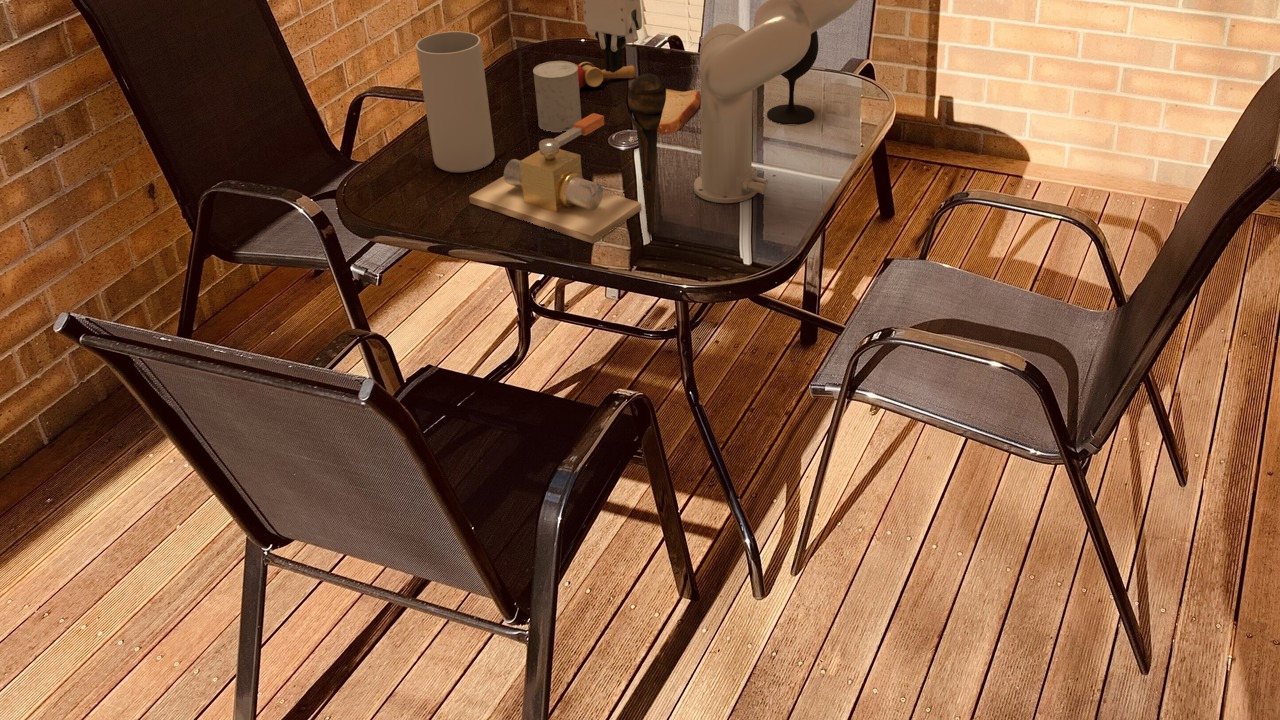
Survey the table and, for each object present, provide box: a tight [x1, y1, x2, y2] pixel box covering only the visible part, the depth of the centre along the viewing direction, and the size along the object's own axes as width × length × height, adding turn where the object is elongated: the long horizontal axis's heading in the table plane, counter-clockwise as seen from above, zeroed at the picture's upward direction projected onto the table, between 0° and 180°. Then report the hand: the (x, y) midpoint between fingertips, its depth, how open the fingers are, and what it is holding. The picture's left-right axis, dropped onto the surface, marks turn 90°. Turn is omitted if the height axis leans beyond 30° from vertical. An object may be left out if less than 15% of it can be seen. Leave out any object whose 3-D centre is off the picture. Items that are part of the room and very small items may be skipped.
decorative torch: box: [625, 72, 667, 235], centre depth 197 cm, size 7×7×30 cm
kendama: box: [575, 61, 636, 90], centre depth 265 cm, size 8×6×18 cm
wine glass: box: [766, 30, 819, 125], centre depth 241 cm, size 10×10×20 cm
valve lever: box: [538, 112, 605, 156], centre depth 213 cm, size 17×4×2 cm, turn 144°
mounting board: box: [468, 175, 642, 244], centre depth 216 cm, size 30×15×2 cm, turn 54°
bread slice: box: [657, 88, 701, 135], centre depth 249 cm, size 18×18×4 cm
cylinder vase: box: [415, 30, 496, 174], centre depth 227 cm, size 12×12×25 cm
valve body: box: [503, 148, 604, 213], centre depth 213 cm, size 20×8×10 cm, turn 54°
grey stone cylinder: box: [532, 60, 583, 133], centre depth 245 cm, size 10×10×12 cm
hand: (614, 69), depth 206 cm, fingers closed
